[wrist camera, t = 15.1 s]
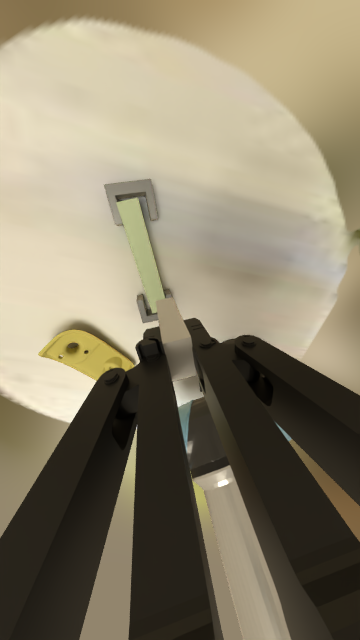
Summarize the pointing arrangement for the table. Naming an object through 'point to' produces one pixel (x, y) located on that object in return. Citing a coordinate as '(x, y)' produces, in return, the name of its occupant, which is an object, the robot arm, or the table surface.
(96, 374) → the plastic component
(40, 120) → the table surface
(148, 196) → the end caps
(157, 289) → the slat
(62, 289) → the table surface
